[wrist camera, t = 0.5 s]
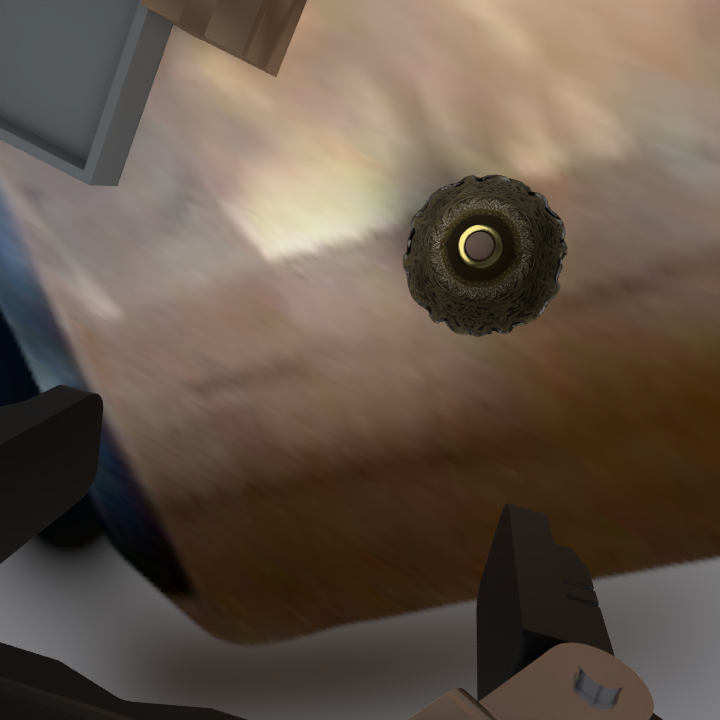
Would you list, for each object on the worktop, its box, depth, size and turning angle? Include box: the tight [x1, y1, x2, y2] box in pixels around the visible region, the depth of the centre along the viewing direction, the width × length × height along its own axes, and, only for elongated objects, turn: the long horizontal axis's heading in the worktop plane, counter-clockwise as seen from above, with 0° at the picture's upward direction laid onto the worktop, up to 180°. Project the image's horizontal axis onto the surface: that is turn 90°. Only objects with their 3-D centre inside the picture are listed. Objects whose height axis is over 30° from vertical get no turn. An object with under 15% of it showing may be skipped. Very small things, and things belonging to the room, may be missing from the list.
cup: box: [403, 175, 567, 337], centre depth 33 cm, size 8×7×8 cm
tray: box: [0, 0, 173, 186], centre depth 36 cm, size 13×13×3 cm
